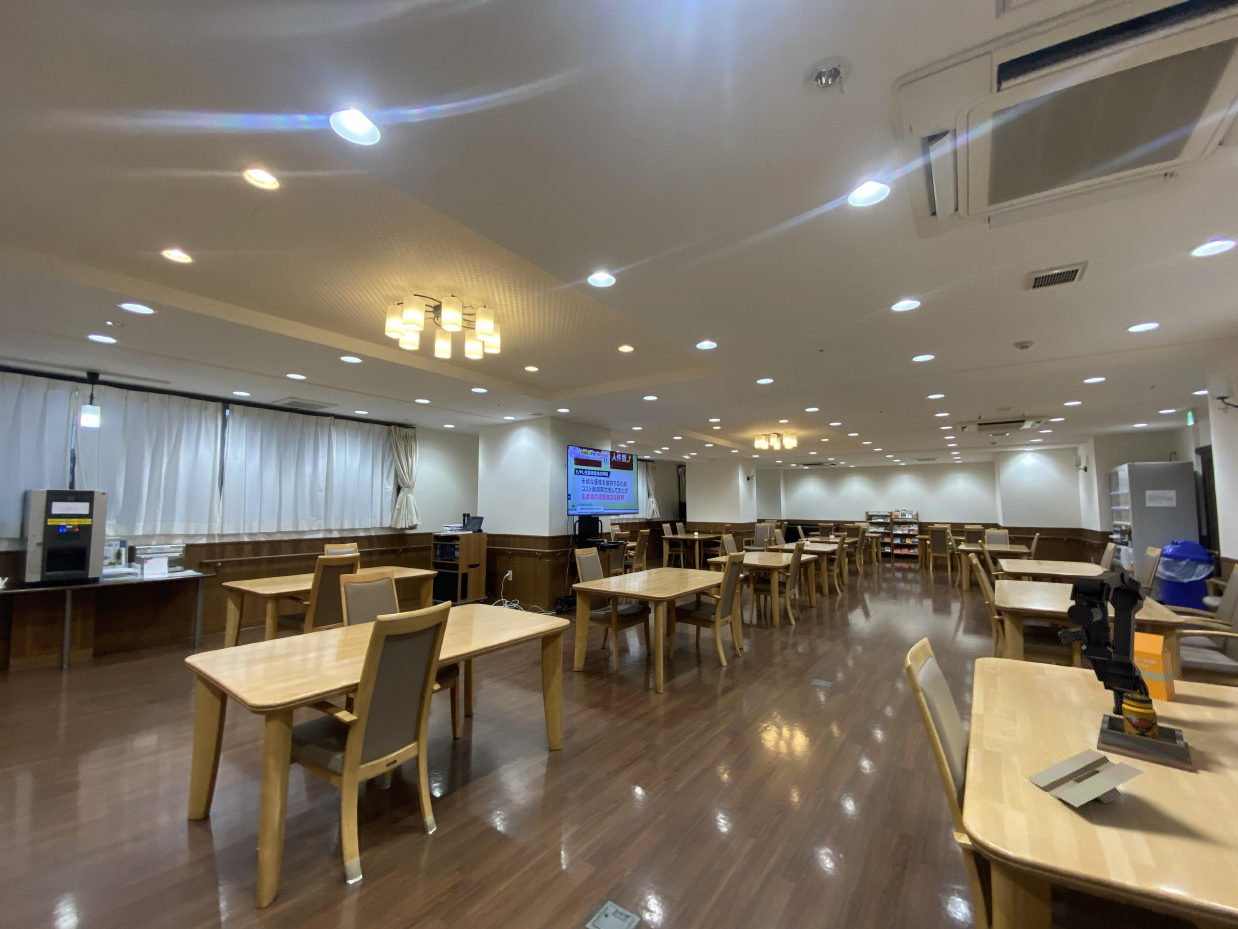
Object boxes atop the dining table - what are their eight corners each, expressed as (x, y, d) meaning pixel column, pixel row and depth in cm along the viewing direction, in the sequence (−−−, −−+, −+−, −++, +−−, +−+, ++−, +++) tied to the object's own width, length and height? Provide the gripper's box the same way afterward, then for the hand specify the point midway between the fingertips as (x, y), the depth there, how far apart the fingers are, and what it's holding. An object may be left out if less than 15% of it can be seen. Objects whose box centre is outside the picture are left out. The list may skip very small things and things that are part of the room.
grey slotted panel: (1118, 850, 93) (1175, 796, 94) (1076, 807, 96) (1130, 755, 96) (1061, 814, 109) (1109, 768, 109) (1025, 778, 111) (1073, 733, 112)
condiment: (1139, 750, 123) (1133, 700, 124) (1110, 735, 131) (1105, 688, 132) (1172, 751, 122) (1166, 701, 123) (1141, 736, 130) (1135, 689, 131)
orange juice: (1167, 701, 157) (1159, 637, 159) (1129, 693, 165) (1122, 631, 167) (1176, 697, 160) (1168, 634, 163) (1138, 689, 168) (1131, 629, 170)
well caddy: (1101, 726, 138) (1100, 710, 139) (1188, 745, 127) (1186, 727, 127) (1097, 749, 125) (1095, 731, 125) (1193, 772, 113) (1190, 753, 114)
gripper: (1062, 613, 154) (1067, 665, 153) (1054, 622, 142) (1060, 678, 140) (1112, 618, 146) (1118, 673, 145) (1109, 628, 134) (1115, 688, 132)
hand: (1101, 677), depth 140 cm, fingers open, 9 cm apart
